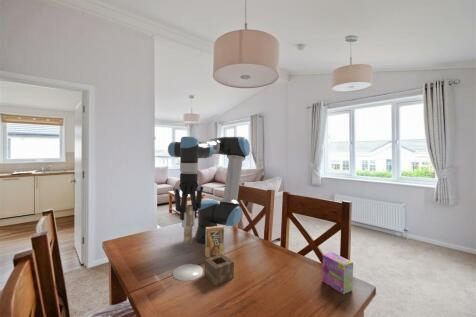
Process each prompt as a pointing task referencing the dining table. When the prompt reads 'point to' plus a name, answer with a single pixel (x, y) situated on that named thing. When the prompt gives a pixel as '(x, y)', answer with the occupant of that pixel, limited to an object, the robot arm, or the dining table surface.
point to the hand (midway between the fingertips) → (188, 226)
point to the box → (337, 272)
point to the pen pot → (219, 269)
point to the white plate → (187, 272)
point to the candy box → (214, 241)
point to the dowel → (188, 224)
